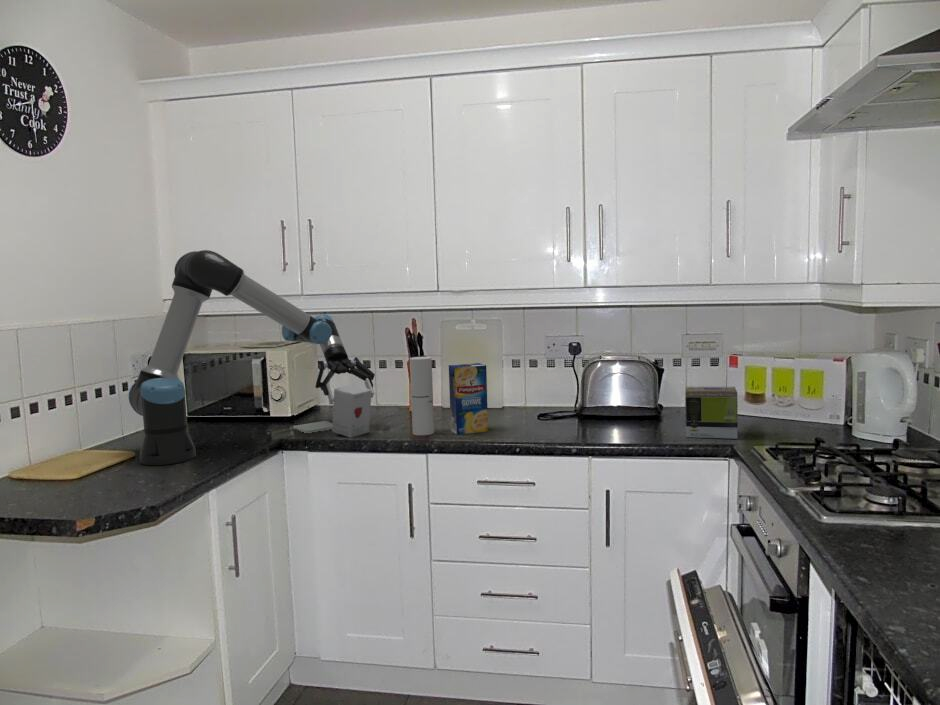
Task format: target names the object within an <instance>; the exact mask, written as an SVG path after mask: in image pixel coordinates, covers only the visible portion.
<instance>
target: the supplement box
mask: <svg viewBox="0 0 940 705" xmlns="http://www.w3.org/2000/svg"><path fill="white" fill-rule="evenodd" d="M371 392H372V390H370V389H367V388H366V387H364V386H359V385H356V384H350V385H345V386H340V387H336V388H334V392H333V397H334V402H333V407H332V408H333V409H332V422H331V423H332V430H331V431H332V432H333V433H336V434H339V435H342V436H345V437H347V438H350V439H351V438H355V437H358V436H361V435H365V434H368V433H370V423H371V422H370V419H371V403H372V398H371Z"/></svg>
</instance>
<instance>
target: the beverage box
mask: <svg viewBox="0 0 940 705" xmlns="http://www.w3.org/2000/svg"><path fill="white" fill-rule="evenodd" d="M487 379H488V378H487V364H483V363H480V362H475V363H462V364H461V363H460V364H450V365H448V381H449V382H448V385H449V386H448V387H449V415H450V416H449V417H450V431H451V432H453V433H454V434H455V435H456V436H457V435H465V434H473V433H474V434H475V433H484V432H489V420H488V419H489V415H488V411H489V410H488V380H487Z"/></svg>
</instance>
